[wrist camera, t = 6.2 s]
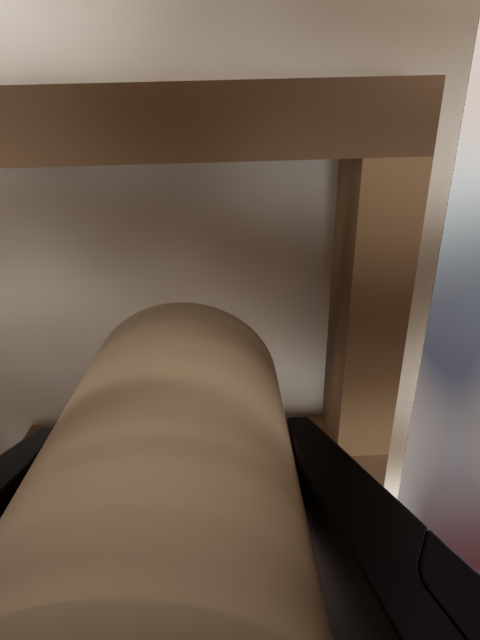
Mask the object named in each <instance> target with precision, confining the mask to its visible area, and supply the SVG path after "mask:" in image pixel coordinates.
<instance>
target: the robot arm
mask: <svg viewBox="0 0 480 640" xmlns="http://www.w3.org/2000/svg"><path fill="white" fill-rule="evenodd" d="M287 426H288V431H289V436H290V441H291V445H292V450H293V455H294V459H295V464H296V469H297V474H298V478H299V483H300V488H301V492H302V497H303V502H304V506H305V511H306V516H307V521H308V525H309V530H310V535H311V539H312V544H313V549H314V554H315V558H316V563H317V568H318V572H319V577H320V582H321V587H322V591H323V596H324V601H325V605H326V610H327V615H328V619H329V624H330V629H331V634H332V638H333V640H480V574H479V573H478V572H476V571H475V570H474V569H473V568H472V567H471V566H470V565H469V564H468V563H466V562H465V561H464V560H463V559H462V558H461V557H460V556H459V555H457V554H456V553H455V552H454V551H453V550H452V549H451V548H449V547H448V546H447V545H446V544H445V543H444V542H443V541H442V540H441V539H440V538H438V536H436V535H435V534H434V533H433V532H432V531H430V530H428V531H427V527H426V526H425V525H424V524H423V523H422V522H421V521H420V520H419V519H418V518H417V517H416V516H415V515H414V514H413V513H411V512H410V511H409V510H408V509H407V508H406V507H405V506H404V505H403V504H402V503H400V501H399V500H397V499H396V498H395V497H394V496H393V495H392V494H391V493H390V492H389V491H388V490H387V489H386V488H384V487H383V486H382V485H381V484H380V483H379V482H378V481H377V480H376V479H375V478H374V477H373V476H372V475H370V474H369V473H368V472H367V471H366V470H365V469H364V468H363V467H362V466H361V465H360V464H359V463H358V462H356V461H355V460H354V459H353V458H352V457H351V456H350V455H349V454H348V453H347V452H346V451H345V450H343V449H342V448H341V447H340V446H339V445H338V444H337V443H336V442H335V441H334V440H333V439H332V438H331V437H329V436H328V435H327V434H326V433H325V432H324V431H323V430H322V429H321V428H320V427H319V426H318V425H317V424H315V423H314V422H313V421H312V420H311V419H310V418H309V417H307V416H290V417H288V419H287ZM53 428H54V426H44V427H41V428H39V429H38V430H36V431H35V432H33V433H32V434H30V435H29V436H27V437H26V438H24V439H23V440H21V441H20V442H18V443H17V444H16V445H14V446H13V447H11V448H10V449H8V450H7V451H5V452H4V453H2V454H1V455H0V518H1V517H2V515H3V513H4V511H5V510H6V508H7V506H8V505H9V503H10V501H11V500H12V498H13V496H14V494H15V493H16V491H17V489H18V488H19V486H20V484H21V482H22V481H23V479H24V477H25V476H26V474H27V472H28V470H29V469H30V467H31V465H32V464H33V462H34V460H35V458H36V457H37V455H38V453H39V452H40V450H41V448H42V447H43V445H44V443H45V441H46V440H47V438H48V436H49V435H50V433H51V431H52V429H53Z"/></svg>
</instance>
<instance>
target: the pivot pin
mask: <svg viewBox="0 0 480 640" xmlns="http://www.w3.org/2000/svg"><path fill="white" fill-rule="evenodd" d="M0 640H333V638H332V634H331V629H330V624H329V619H328V615H327V610H326V605H325V601H324V596H323V591H322V587H321V582H320V577H319V572H318V568H317V563H316V558H315V554H314V549H313V544H312V539H311V535H310V530H309V525H308V521H307V516H306V511H305V506H304V502H303V497H302V492H301V488H300V483H299V478H298V474H297V469H296V464H295V459H294V455H293V450H292V445H291V441H290V436H289V431H288V426H287V422H286V417H285V412H284V408H283V403H282V398H281V393H280V389H279V384H278V379H277V375H276V370H275V366H274V362H273V359H272V357H271V354H270V352H269V350H268V349H267V347H266V345H265V343H264V342H263V341H262V339H261V338H260V337H259V336H258V334H257V333H256V332H255V331H254V330H253V329H252V328H250V327H249V326H248V325H247V324H246V323H244V322H243V321H242V320H240V319H239V318H237V317H235V316H233V315H232V314H230V313H228V312H225V311H223V310H221V309H218V308H215V307H211V306H208V305H204V304H197V303H186V302H176V303H166V304H161V305H157V306H152V307H150V308H147V309H144V310H141V311H139V312H137V313H135V314H134V315H132V316H130V317H128V318H127V319H126V320H124V321H123V322H121V323H120V324H119V325H118V326H117V327H116V328H115V329H114V330H113V331H112V332H111V333H110V334H109V335H108V337H107V338H106V339H105V341H104V342H103V344H102V346H101V347H100V349H99V351H98V353H97V354H96V356H95V358H94V359H93V361H92V363H91V365H90V366H89V368H88V370H87V371H86V373H85V375H84V376H83V378H82V380H81V382H80V383H79V385H78V387H77V388H76V390H75V392H74V394H73V395H72V397H71V399H70V400H69V402H68V404H67V406H66V407H65V409H64V411H63V412H62V414H61V416H60V417H59V419H58V421H57V423H56V424H55V426H54V428H53V429H52V431H51V433H50V435H49V436H48V438H47V440H46V441H45V443H44V445H43V447H42V448H41V450H40V452H39V453H38V455H37V457H36V458H35V460H34V462H33V464H32V465H31V467H30V469H29V470H28V472H27V474H26V476H25V477H24V479H23V481H22V482H21V484H20V486H19V488H18V489H17V491H16V493H15V494H14V496H13V498H12V500H11V501H10V503H9V505H8V506H7V508H6V510H5V511H4V513H3V515H2V517H1V518H0Z"/></svg>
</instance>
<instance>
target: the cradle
mask: <svg viewBox="0 0 480 640" xmlns="http://www.w3.org/2000/svg"><path fill="white" fill-rule="evenodd" d="M479 17H480V0H0V455H1V454H2V453H4V452H5V451H7V450H8V449H10V448H11V447H13V446H14V445H16V444H17V443H18V442H20V441H21V440H23V439H24V438H26V437H27V436H29V435H30V434H32V433H33V432H35V431H36V430H38V429H39V428H41V427H44V426H55V424H56V423H57V421H58V419H59V417H60V416H61V414H62V412H63V411H64V409H65V407H66V406H67V404H68V402H69V400H70V399H71V397H72V395H73V394H74V392H75V390H76V388H77V387H78V385H79V383H80V382H81V380H82V378H83V376H84V375H85V373H86V371H87V370H88V368H89V366H90V365H91V363H92V361H93V359H94V358H95V356H96V354H97V353H98V351H99V349H100V347H101V346H102V344H103V342H104V341H105V339H106V338H107V337H108V335H109V334H110V333H111V332H112V331H113V330H114V329H115V328H116V327H117V326H118V325H119V324H120V323H121V322H123V321H124V320H126V319H127V318H128V317H130V316H132V315H134V314H135V313H137V312H139V311H141V310H144V309H147V308H150V307H152V306H157V305H161V304H166V303H176V302H186V303H197V304H204V305H208V306H211V307H215V308H218V309H221V310H223V311H225V312H228V313H230V314H232V315H233V316H235V317H237V318H239V319H240V320H242V321H243V322H244V323H246V324H247V325H248V326H249V327H250V328H252V329H253V330H254V331H255V332H256V333H257V334H258V336H259V337H260V338H261V339H262V341H263V342H264V343H265V345H266V347H267V349H268V350H269V352H270V354H271V357H272V359H273V362H274V366H275V370H276V375H277V379H278V384H279V389H280V393H281V398H282V403H283V408H284V412H285V417H286V422H287V419H288V417H290V416H307V417H309V418H310V419H311V420H312V421H313V422H314V423H315V424H317V425H318V426H319V427H320V428H321V429H322V430H323V431H324V432H325V433H326V434H327V435H328V436H329V437H331V438H332V439H333V440H334V441H335V442H336V443H337V444H338V445H339V446H340V447H341V448H342V449H343V450H345V451H346V452H347V453H348V454H349V455H350V456H351V457H352V458H353V459H354V460H355V461H356V462H358V463H359V464H360V465H361V466H362V467H363V468H364V469H365V470H366V471H367V472H368V473H369V474H370V475H372V476H373V477H374V478H375V479H376V480H377V481H378V482H379V483H380V484H381V485H382V486H383V487H384V488H386V489H387V490H388V491H389V492H390V493H391V494H392V495H393V496H394V497H395V498H396V499H397V498H398V492H399V486H400V480H401V474H402V469H403V463H404V457H405V451H406V445H407V439H408V434H409V427H410V422H411V416H412V410H413V404H414V398H415V392H416V387H417V380H418V375H419V369H420V363H421V357H422V351H423V346H424V340H425V334H426V327H427V322H428V316H429V310H430V304H431V298H432V293H433V287H434V281H435V275H436V269H437V263H438V257H439V252H440V246H441V240H442V234H443V228H444V222H445V216H446V210H447V205H448V199H449V193H450V187H451V181H452V175H453V170H454V163H455V158H456V152H457V146H458V140H459V134H460V128H461V122H462V117H463V111H464V105H465V99H466V93H467V87H468V81H469V75H470V70H471V64H472V58H473V52H474V46H475V40H476V35H477V29H478V23H479Z"/></svg>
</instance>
